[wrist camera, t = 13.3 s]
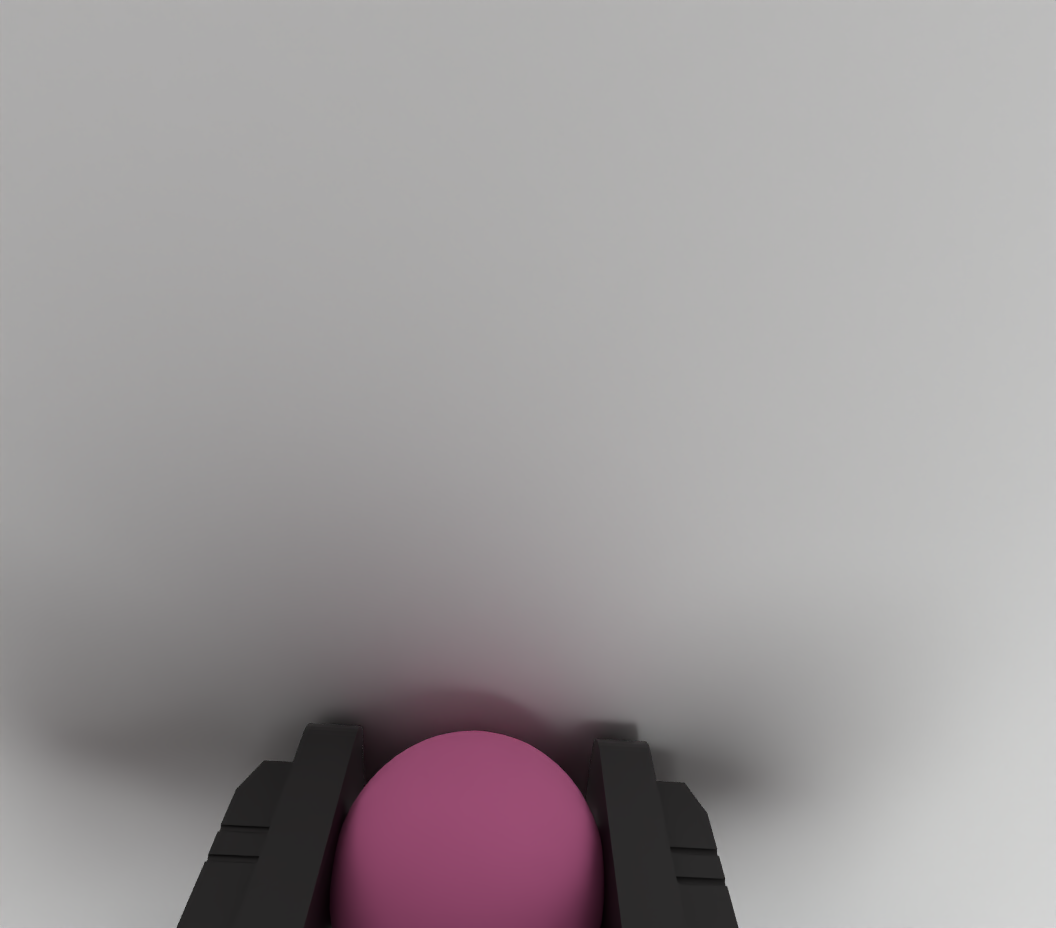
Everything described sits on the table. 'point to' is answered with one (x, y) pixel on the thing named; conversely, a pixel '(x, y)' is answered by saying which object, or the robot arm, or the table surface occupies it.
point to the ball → (468, 842)
